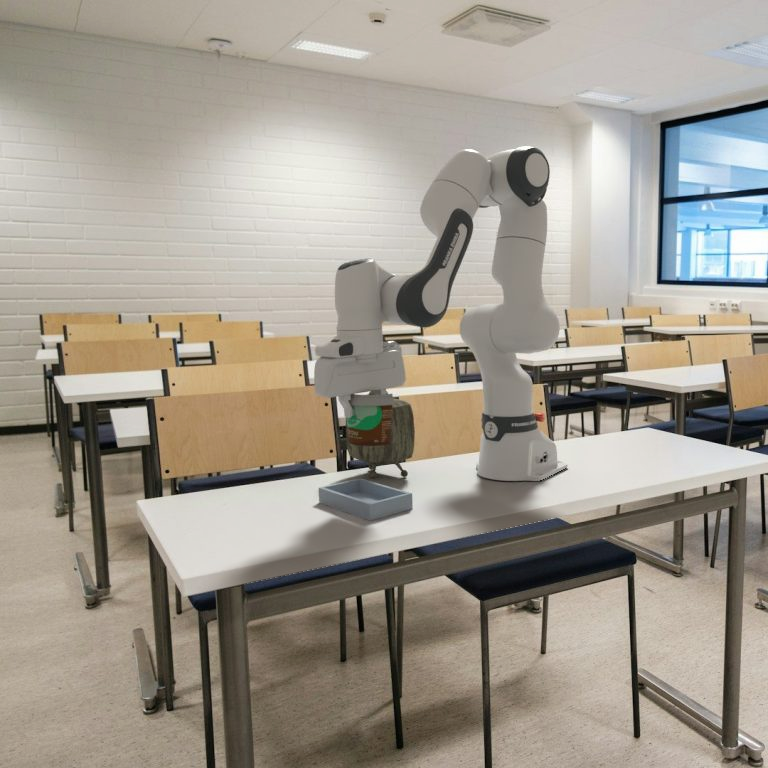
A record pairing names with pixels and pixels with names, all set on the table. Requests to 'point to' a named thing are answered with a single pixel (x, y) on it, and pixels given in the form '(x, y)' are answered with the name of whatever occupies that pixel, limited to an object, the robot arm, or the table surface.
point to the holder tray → (365, 498)
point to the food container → (370, 419)
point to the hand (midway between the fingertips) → (363, 414)
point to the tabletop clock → (399, 440)
